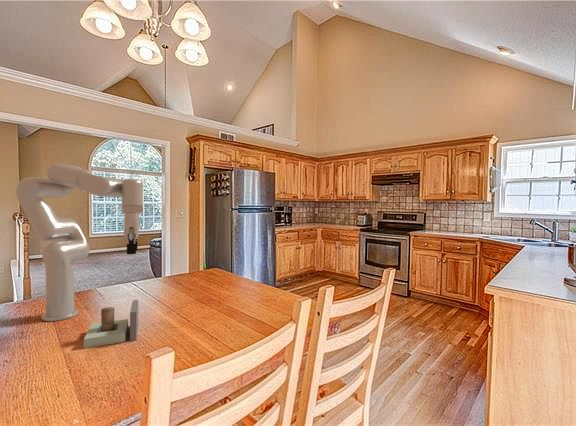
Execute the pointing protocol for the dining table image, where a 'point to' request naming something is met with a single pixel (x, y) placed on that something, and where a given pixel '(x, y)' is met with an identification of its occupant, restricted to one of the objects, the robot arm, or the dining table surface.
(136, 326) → the low wall
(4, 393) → the dining table surface
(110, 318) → the walnut peg
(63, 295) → the robot arm
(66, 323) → the dining table surface
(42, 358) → the dining table surface
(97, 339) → the socket block
